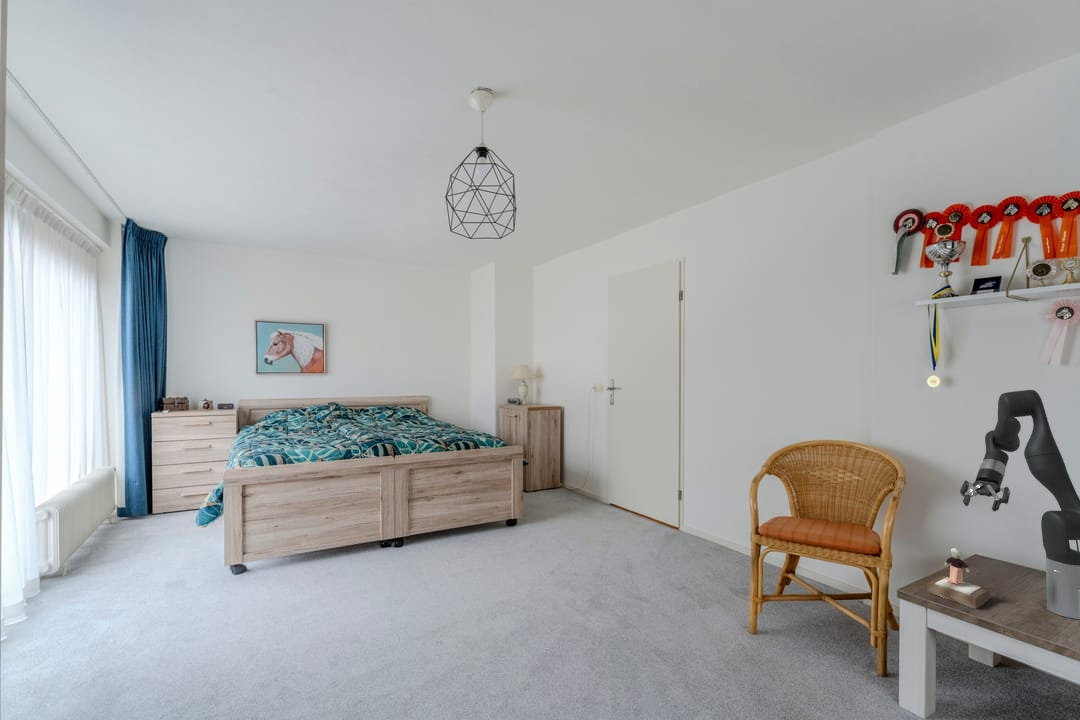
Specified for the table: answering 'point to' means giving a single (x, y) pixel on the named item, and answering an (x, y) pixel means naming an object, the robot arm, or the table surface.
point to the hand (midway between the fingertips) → (979, 507)
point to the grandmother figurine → (956, 567)
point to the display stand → (959, 592)
